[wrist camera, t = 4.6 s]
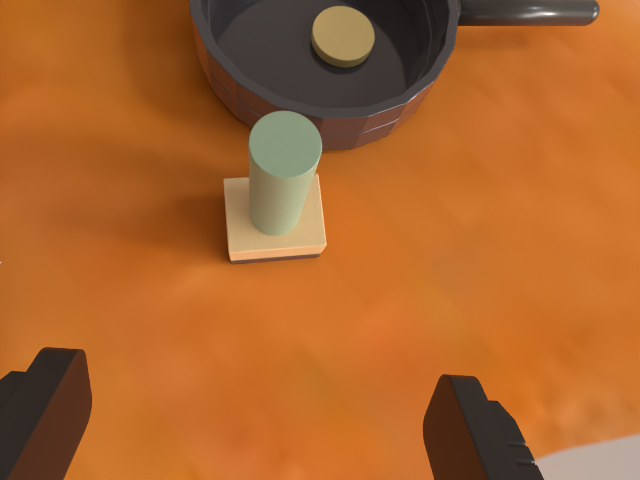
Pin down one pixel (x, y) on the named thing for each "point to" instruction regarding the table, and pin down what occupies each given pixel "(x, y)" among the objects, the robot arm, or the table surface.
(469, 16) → the pan handle
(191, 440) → the table surface
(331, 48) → the disc
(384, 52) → the pan
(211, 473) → the table surface
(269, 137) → the green peg on base
